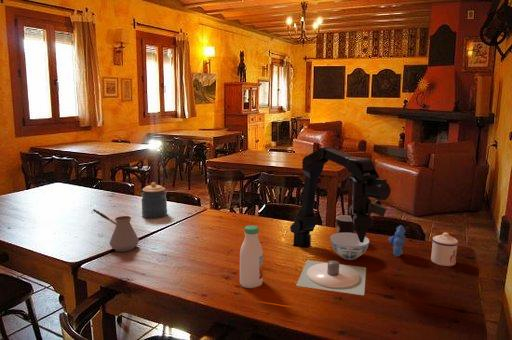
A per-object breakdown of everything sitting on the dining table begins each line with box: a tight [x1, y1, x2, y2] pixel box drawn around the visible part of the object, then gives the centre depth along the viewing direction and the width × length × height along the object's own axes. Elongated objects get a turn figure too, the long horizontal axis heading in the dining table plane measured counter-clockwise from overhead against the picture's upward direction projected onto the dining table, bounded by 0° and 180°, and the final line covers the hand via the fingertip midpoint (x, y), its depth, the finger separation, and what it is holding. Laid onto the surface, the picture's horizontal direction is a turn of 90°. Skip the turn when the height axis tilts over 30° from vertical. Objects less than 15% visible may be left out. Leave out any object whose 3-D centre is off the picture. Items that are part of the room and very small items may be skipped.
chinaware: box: [329, 232, 370, 261], centre depth 160 cm, size 15×15×8 cm
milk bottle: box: [239, 225, 264, 289], centre depth 136 cm, size 8×8×20 cm
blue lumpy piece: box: [387, 225, 407, 258], centre depth 163 cm, size 12×7×12 cm, turn 152°
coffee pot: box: [90, 208, 140, 253], centre depth 169 cm, size 21×12×15 cm, turn 69°
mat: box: [295, 259, 367, 296], centre depth 143 cm, size 22×22×1 cm
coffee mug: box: [335, 214, 355, 233], centre depth 181 cm, size 12×9×10 cm
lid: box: [307, 260, 359, 288], centre depth 143 cm, size 18×18×5 cm
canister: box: [140, 181, 168, 219], centre depth 212 cm, size 13×13×18 cm
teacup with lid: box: [430, 232, 459, 267], centre depth 158 cm, size 12×9×12 cm
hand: (360, 238), depth 144 cm, fingers open, 9 cm apart
